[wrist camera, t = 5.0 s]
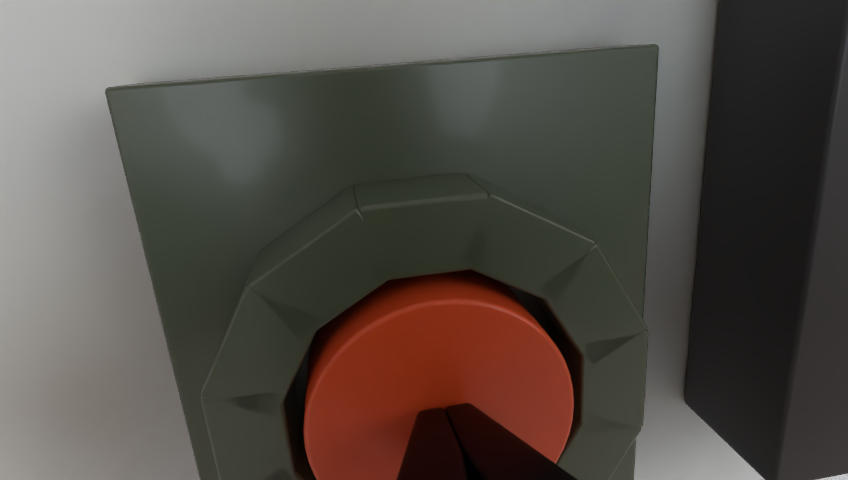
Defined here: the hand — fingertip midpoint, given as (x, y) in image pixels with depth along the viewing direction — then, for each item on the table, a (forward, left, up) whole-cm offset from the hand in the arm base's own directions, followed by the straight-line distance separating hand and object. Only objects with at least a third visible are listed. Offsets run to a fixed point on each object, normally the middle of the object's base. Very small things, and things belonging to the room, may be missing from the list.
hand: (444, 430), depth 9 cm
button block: (0, 0, -3) cm, 3 cm away
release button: (0, 0, -2) cm, 2 cm away
